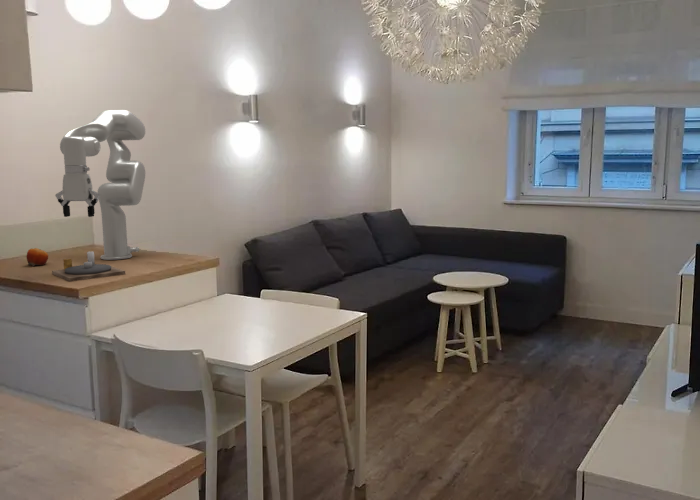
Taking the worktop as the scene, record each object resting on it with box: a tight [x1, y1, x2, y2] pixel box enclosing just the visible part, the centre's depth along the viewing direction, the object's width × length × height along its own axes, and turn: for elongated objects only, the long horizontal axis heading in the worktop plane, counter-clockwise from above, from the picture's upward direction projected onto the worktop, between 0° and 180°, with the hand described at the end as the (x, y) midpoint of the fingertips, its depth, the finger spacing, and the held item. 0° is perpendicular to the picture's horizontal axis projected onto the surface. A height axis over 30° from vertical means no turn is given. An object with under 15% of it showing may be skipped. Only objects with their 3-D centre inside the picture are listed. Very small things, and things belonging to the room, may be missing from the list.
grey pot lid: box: [65, 251, 112, 275], centre depth 252 cm, size 16×16×6 cm
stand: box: [51, 258, 127, 282], centre depth 252 cm, size 20×20×5 cm
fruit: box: [26, 247, 49, 268], centre depth 273 cm, size 8×8×8 cm
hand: (79, 216), depth 256 cm, fingers open, 9 cm apart
